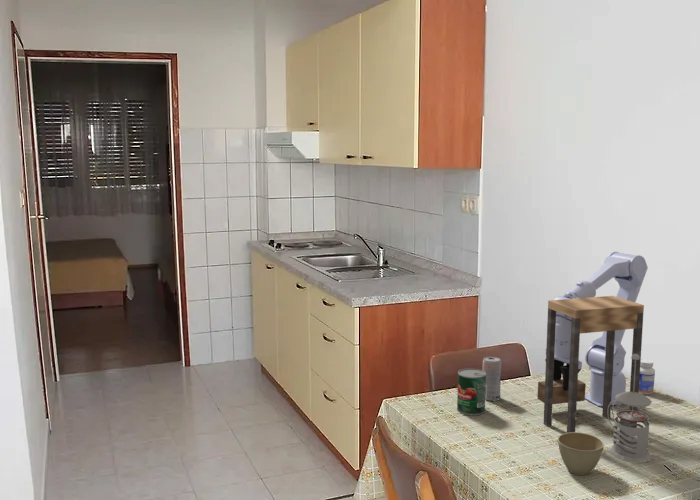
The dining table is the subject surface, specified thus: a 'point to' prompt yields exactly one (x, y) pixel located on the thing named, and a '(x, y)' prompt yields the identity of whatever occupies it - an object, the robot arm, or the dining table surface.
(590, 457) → the flower pot
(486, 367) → the energy drink
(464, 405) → the canned tomato
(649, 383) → the pill bottle
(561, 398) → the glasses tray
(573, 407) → the wood and metal stand
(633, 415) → the french press
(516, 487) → the dining table surface
